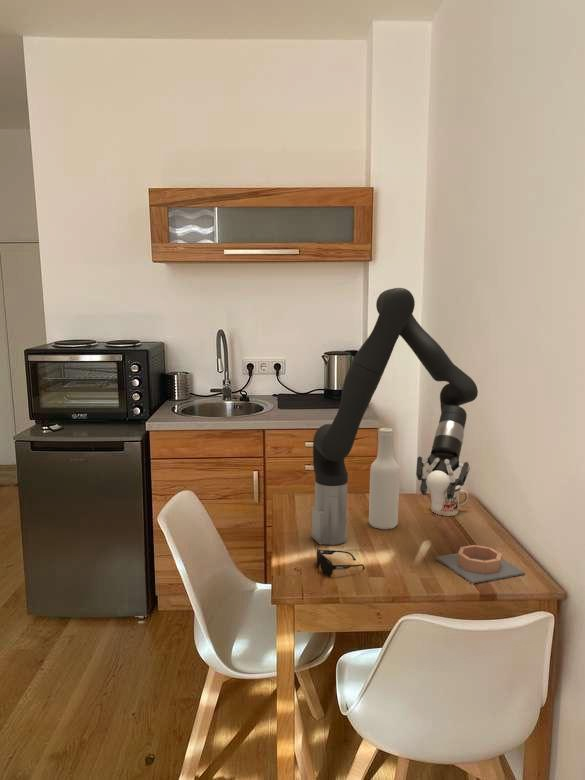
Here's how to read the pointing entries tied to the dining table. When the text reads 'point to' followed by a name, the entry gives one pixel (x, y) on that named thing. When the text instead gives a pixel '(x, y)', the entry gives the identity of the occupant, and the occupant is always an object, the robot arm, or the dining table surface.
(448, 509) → the teacup with lid
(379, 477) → the alcohol
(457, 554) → the ring holder
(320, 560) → the sunglasses
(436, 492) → the lightbulb
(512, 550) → the dining table surface
